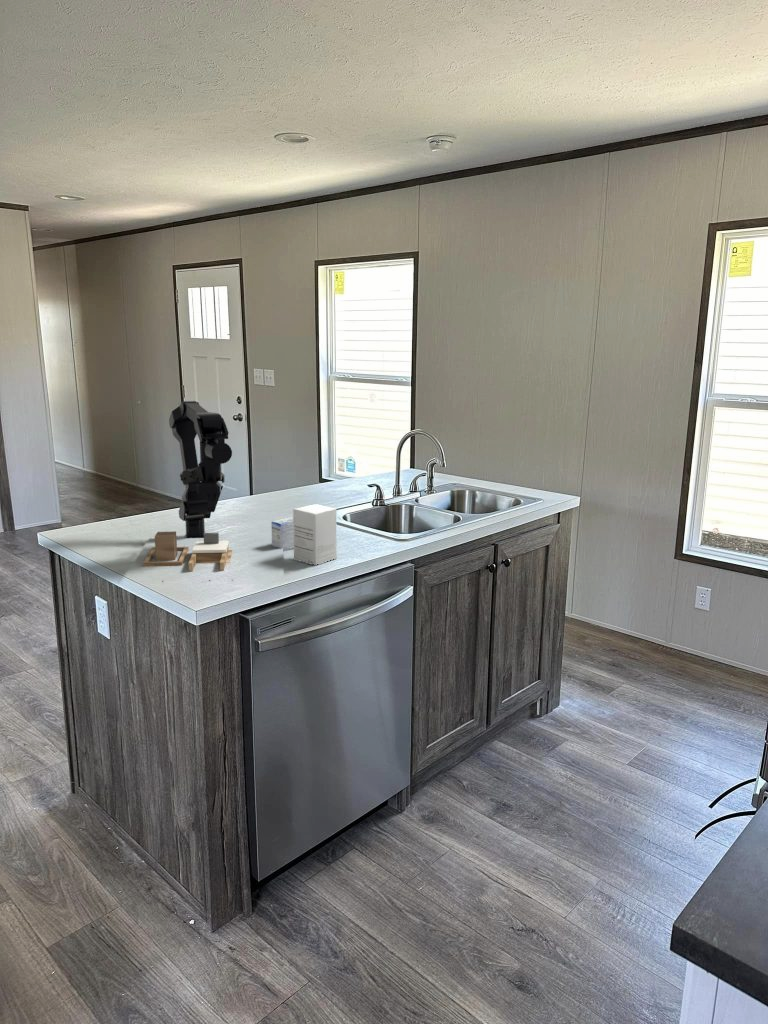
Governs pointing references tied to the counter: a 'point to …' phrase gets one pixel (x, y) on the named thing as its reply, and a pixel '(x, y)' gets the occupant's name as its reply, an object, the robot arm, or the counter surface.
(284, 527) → the medicine box
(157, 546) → the walnut block
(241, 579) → the counter surface
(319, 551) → the supplement box
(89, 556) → the counter surface
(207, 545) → the lid
